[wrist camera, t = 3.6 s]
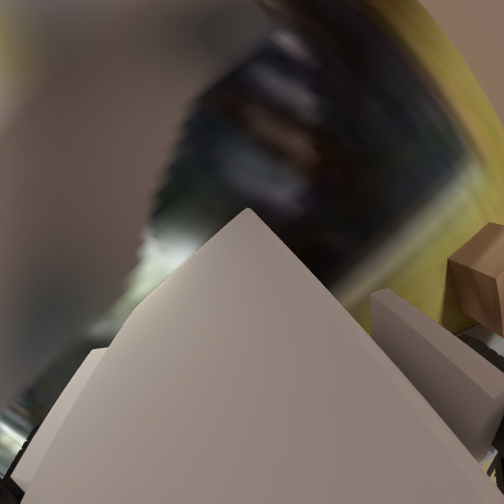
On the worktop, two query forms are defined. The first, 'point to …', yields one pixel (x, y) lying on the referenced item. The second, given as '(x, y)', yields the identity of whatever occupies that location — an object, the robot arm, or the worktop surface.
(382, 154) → the worktop surface
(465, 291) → the walnut block
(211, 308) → the milk carton
